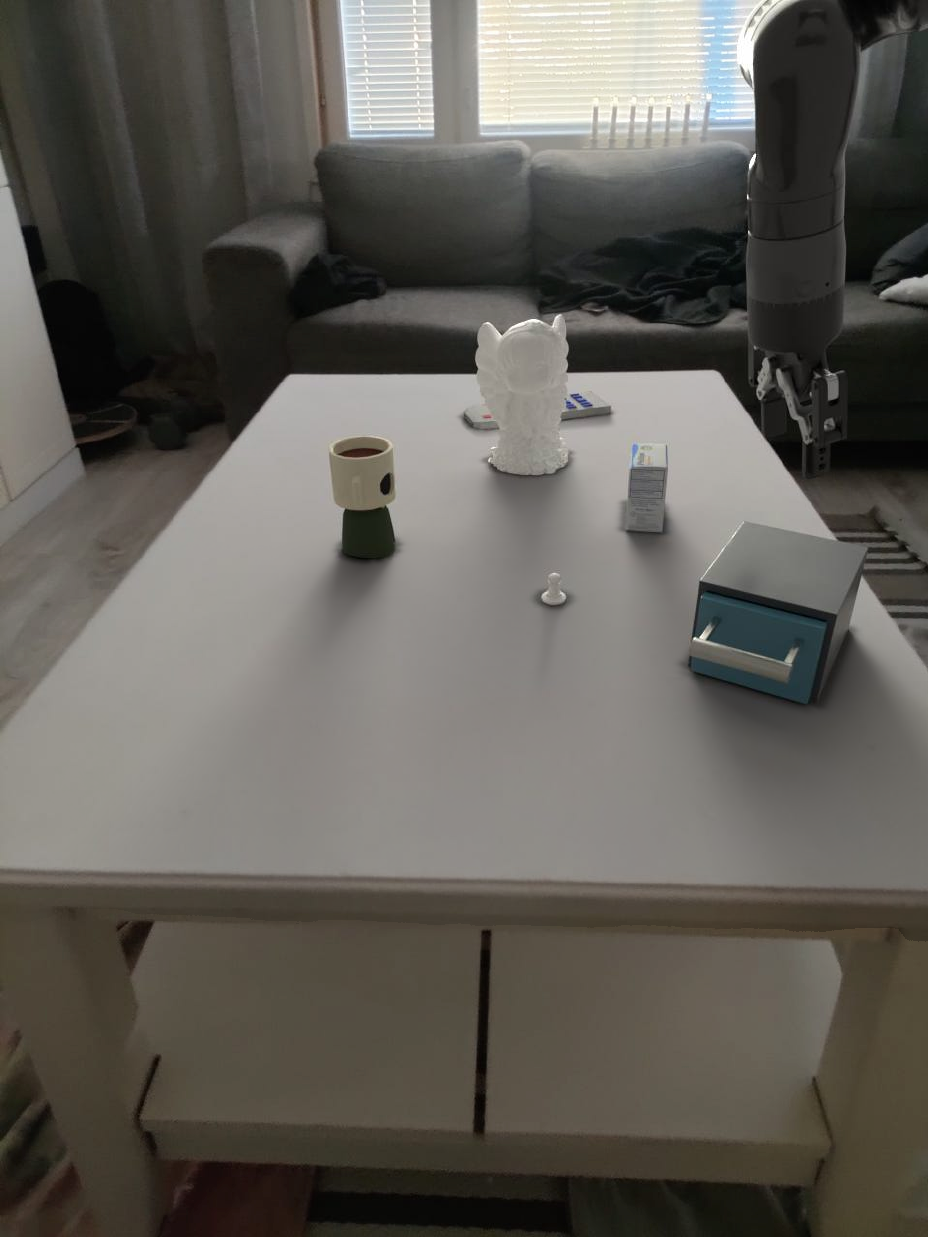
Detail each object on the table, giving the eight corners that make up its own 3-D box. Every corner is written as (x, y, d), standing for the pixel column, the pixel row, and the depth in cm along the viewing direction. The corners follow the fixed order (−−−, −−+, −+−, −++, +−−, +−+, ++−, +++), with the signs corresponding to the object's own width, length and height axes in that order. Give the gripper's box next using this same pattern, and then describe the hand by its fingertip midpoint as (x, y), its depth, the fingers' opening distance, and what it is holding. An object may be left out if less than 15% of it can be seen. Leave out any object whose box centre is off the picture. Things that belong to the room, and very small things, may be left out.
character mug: (394, 574, 99) (387, 465, 92) (331, 574, 100) (319, 466, 93) (404, 530, 109) (397, 429, 102) (346, 530, 109) (336, 429, 102)
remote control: (610, 417, 142) (611, 404, 141) (475, 433, 136) (475, 419, 135) (590, 402, 148) (591, 389, 147) (461, 417, 143) (461, 403, 142)
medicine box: (662, 536, 106) (669, 468, 101) (624, 534, 106) (629, 466, 102) (661, 508, 112) (668, 443, 108) (625, 506, 113) (631, 441, 108)
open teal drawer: (790, 743, 72) (807, 664, 68) (667, 704, 77) (677, 628, 73) (837, 635, 85) (855, 564, 81) (730, 608, 90) (742, 539, 86)
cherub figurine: (479, 480, 121) (476, 331, 111) (476, 446, 132) (474, 307, 121) (574, 477, 121) (581, 328, 111) (564, 444, 132) (570, 305, 121)
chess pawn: (549, 611, 92) (550, 582, 90) (536, 600, 94) (537, 571, 92) (570, 605, 93) (571, 576, 91) (557, 594, 95) (559, 566, 93)
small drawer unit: (815, 707, 77) (837, 614, 72) (687, 670, 83) (699, 580, 78) (847, 633, 87) (868, 547, 82) (730, 604, 92) (744, 520, 87)
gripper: (886, 294, 66) (873, 478, 76) (799, 245, 78) (798, 411, 88) (789, 322, 67) (789, 502, 77) (716, 268, 78) (724, 432, 88)
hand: (794, 453), depth 82 cm, fingers open, 8 cm apart
